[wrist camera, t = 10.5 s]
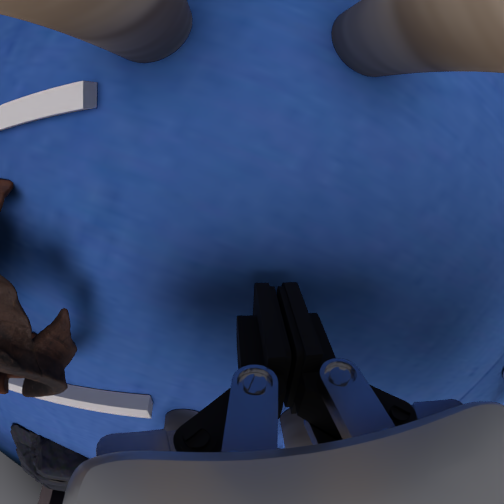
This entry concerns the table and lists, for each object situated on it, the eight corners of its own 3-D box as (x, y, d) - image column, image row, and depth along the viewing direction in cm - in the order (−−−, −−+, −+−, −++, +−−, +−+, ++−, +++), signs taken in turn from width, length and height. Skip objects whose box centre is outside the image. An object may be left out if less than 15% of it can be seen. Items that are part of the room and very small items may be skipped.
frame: (97, 82, 8) (83, 80, 7) (153, 403, 16) (150, 418, 15) (-80, 148, 7) (-92, 153, 6) (-1, 374, 15) (-6, 384, 14)
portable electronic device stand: (93, 492, 31) (88, 530, 23) (84, 495, 33) (79, 528, 26) (46, 472, 28) (38, 510, 20) (42, 476, 30) (35, 510, 22)
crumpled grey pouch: (14, 452, 26) (7, 473, 21) (13, 413, 19) (0, 447, 15) (94, 490, 31) (91, 512, 27) (136, 471, 24) (132, 505, 20)
